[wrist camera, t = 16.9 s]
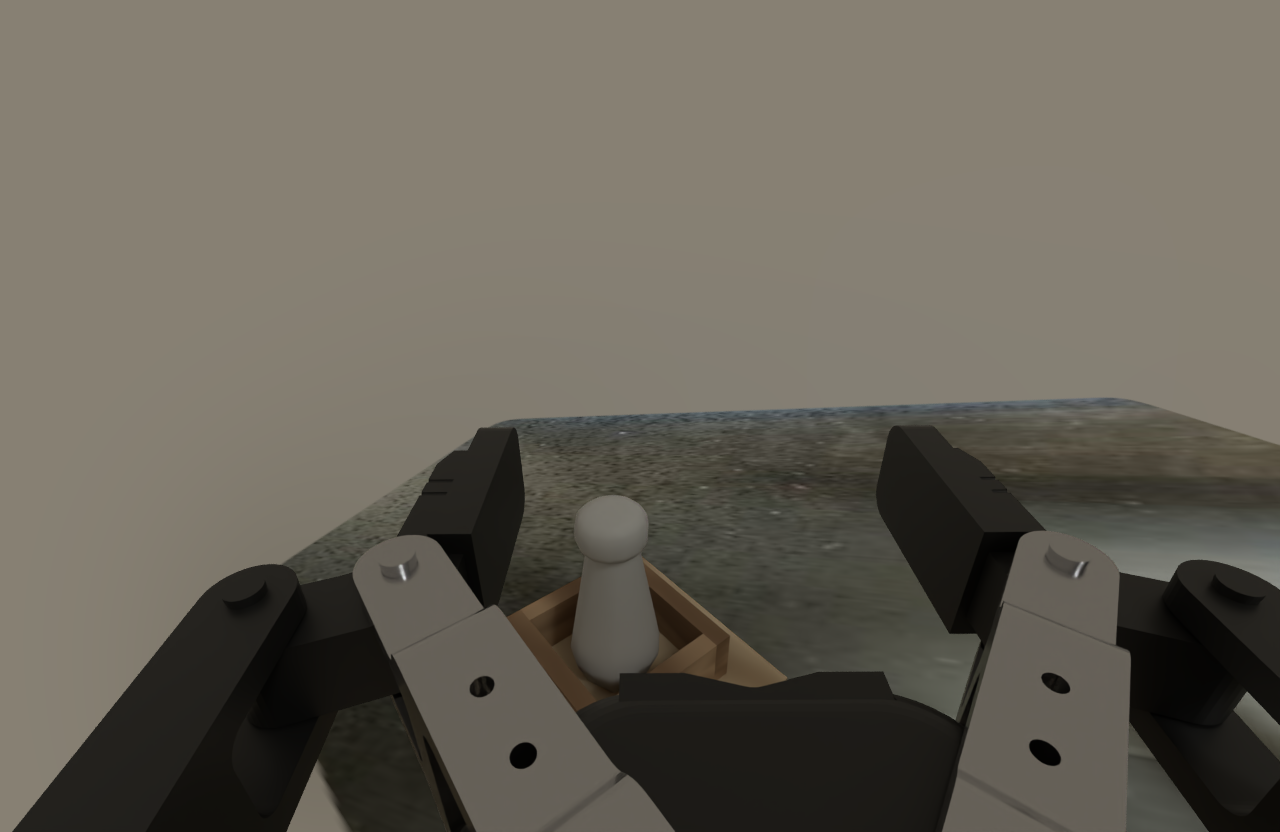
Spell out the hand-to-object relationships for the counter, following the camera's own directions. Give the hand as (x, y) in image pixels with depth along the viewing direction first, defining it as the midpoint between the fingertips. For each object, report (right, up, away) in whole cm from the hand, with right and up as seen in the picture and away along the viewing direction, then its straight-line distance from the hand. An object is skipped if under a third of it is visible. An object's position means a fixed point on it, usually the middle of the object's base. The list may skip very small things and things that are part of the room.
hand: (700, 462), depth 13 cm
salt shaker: (-3, -16, +27) cm, 31 cm away
